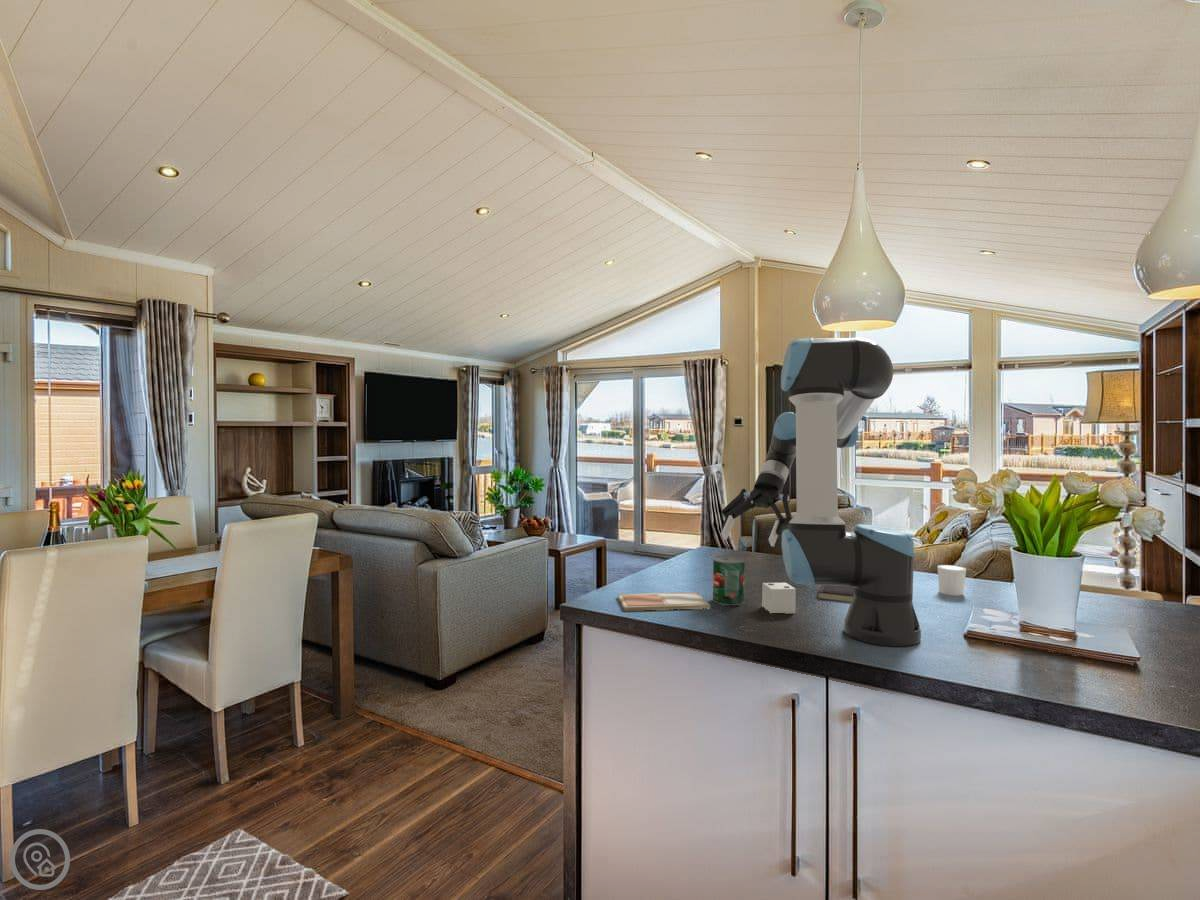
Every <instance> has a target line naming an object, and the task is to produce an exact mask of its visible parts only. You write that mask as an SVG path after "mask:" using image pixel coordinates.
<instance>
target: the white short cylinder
mask: <svg viewBox="0 0 1200 900" xmlns="http://www.w3.org/2000/svg"><path fill="white" fill-rule="evenodd" d="M966 574H967V568H966V567H965V566H964V567H963V566H959V565H953V564H939V565H937V578H938V592H939V593H940V594H943V595H947V596H959V597H960V596H962V595H964V589H965V581H966Z"/></svg>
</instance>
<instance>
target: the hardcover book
mask: <svg viewBox="0 0 1200 900" xmlns="http://www.w3.org/2000/svg"><path fill="white" fill-rule="evenodd" d="M853 594H854V586H836V585H820V587H819V589H818V591H817V593H816V597H817V599H823V600H832V601H840V602H841V601H843V602H849V603H851V601H852V599H853Z"/></svg>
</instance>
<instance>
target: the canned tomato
mask: <svg viewBox="0 0 1200 900" xmlns="http://www.w3.org/2000/svg"><path fill="white" fill-rule="evenodd" d="M712 560H713V565H712V567H713V571H712V602H713V601H714V602H716V603H718V604H717V605H719V604H722V605H721V606H724V605H739V606H742V605H744V604H745V568H746V567H745V566H746V564H745V561H746V560H745V558H744V557H740V556H735V555H717V556H714V557H713V558H712ZM714 602H713V603H714ZM716 603H715V604H716ZM743 603H744V604H743ZM741 604H742V605H741Z"/></svg>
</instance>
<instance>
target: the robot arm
mask: <svg viewBox="0 0 1200 900" xmlns="http://www.w3.org/2000/svg"><path fill="white" fill-rule="evenodd" d="M893 376H894V366H893V361H892V359H891V358H890V356H889V354H888V353H887V352H886V350H885V349H884V348H883V347H882V346H881V345H879V344H878V343H877V342H875V341H872V340H870V339H867V338H863V337H850V338H849V337H847V338H846V337H844V338H843V337H841V338H840V337H812V336H811V337H809V338H797V339H796V338H795V339H792V341H790V342H789V344H788V345H787V347H786V351H785V353H784V357H783V362H782V367H781V376H780V388H781V390H782V391H783V392H788V400H789V401H790V402H791V404H793V405H794V407H795V413H794V412H792V411H785V412H782V413H781V414H780V415H778V417H777V418H776V420H775V423H774V425H773V428H772V429H773V430H772V436H771V441H770V442H769V443H770V445H769V448H768V452H767V454H766V456H765V459H764V462H763V464H762V466H761V468H760V471H759V473H758V476H757V479H756V480H755V483H754V486H753V489H752V490H751V491H748V490H746V488H742V489H741V491H739V494H737V496H735V498H733V499H732V500H731V501H730V502H729V503H728V504H727V505H726V506H724V508H722V509H721V511H720V512H721V514H722V515H723V518H724V521H723V523H722V526H723V529H722V531H721V533H720V535H721V536H722V538H723V540H724V541H727V540H728V538H729V536H730V533H731V532H732V529H733V526H734V524H735V523H736V522H735V520H734V519H736V518H738V517H739V516H741V515H742V514H744V513H746V512H747V511H749V510H751V509H752V510H753V509H754V508H764V509H768V508H771V510H772V511H773V513H774V515H775V516H776V518H777V519H778V520H777V519H776V520H775V521H774V525H773V527H772V529H771V532H770V534H769V537H768V542H769V544H770V546H771V547H773V548H774V547H775V546H776V545H775V544H776V542H777V539H778V537H779V536H781V542H780V543H781V553H782V559H783V560H782V561H783V565H784V568H785V571H786V574H787V576H788V578H789V580H790V581H792V582H793V584H799V585H809V586H811V587H814V586H821V585H836V586H854V594H853V599H852V601H851V602H850V605H849V607H848V610H847V612H846V616H845V617H844V620H843V621H844V623H843V627H844V628H843V630H844V631H843V632H844V633H845V634H846V635H847V636H849V637H850V638H852V639H855V640H857V641H861V642H864V643H868V644H871V645H872V644H873V645H876V646H877V645H879V646H886V647H910V646H914V645H915V646H916V645H917V644H919V643H920V642H921V639H922V635H921V634H922V631H921V630H922V629H921V626H920V623H919V620H918V616H917V613H916V610H915V607H914V604H913V595H914V591H913V590H914V568H915V565H914V563H915V557H916V556H915V548H914V547H915V545H914V539H913V537H912V536H911V535H910V534H909V533H907V532H906V531H905V532H904V531H902V530H897V529H895V528H890V527H884V526H879V525H873V524H866V523H863V524H859V523H858V524H856V525H855V527H854V528H853V531H846V530H847V529H846V522H845V521H844V520H843V519H842V518H841V517H840V515H839V513H838V511H839V508H838V507H839V504H838V501H839V500H838V496H839V495H838V492H839V491H838V488H839V487H838V449H843V448H853V447H854V446H856V444H857V440H858V437H859V435H858V433H859V430H858V425H859V423H860V421H861V420H862V419H863V416H864V415H865V414H866V413H867V411H868V410H869V408H870V407H871V406H872V404H873V402H874V401H875V400H876V399H878V398H881V397H882V396H883V395H884V394H885V393H886V392H887V390H888V389H889V388H890V386H891V383H892V381H893ZM794 460H795V469H796V470H795V471H796V472H795V473H796V475H795V476H796V478H795V479H796V480H795V481H796V484H795V486H796V487H795V490H796V491H795V492H796V493H795V495H796V502H795V503H796V504H795V505H796V506H795V507H796V508H795V509H796V513H795V515H794V516H792V511H791V506H790V501H791V498H790V495H789V493H788V492H787V491H785V492H783V489H784V487H785V484H786V481H787V480H788V479H787V478H788V476H789V474H790V470H791V468H792V465H793V463H794ZM782 492H783V494H782ZM780 500H781V503H783V504H782V505H783V509H784V514H785V517H784V516H783V514H782V513H781V512H780V509H779V508H778V506H777V505H776V503H777V502H778V501H780ZM786 526H789V528H787V529H785V527H786Z"/></svg>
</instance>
